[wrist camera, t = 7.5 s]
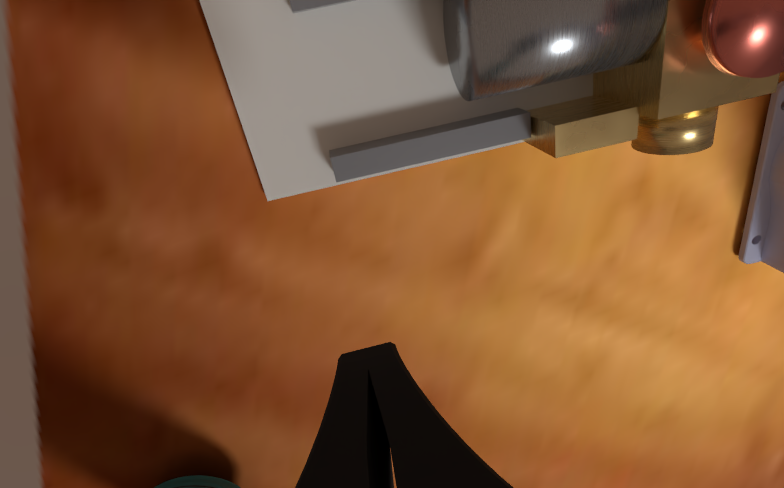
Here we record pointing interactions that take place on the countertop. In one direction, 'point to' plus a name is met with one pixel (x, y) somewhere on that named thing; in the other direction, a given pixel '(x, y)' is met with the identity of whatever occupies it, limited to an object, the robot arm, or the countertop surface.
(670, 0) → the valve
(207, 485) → the beverage bottle
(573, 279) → the countertop surface
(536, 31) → the metal cylinder
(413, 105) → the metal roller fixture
